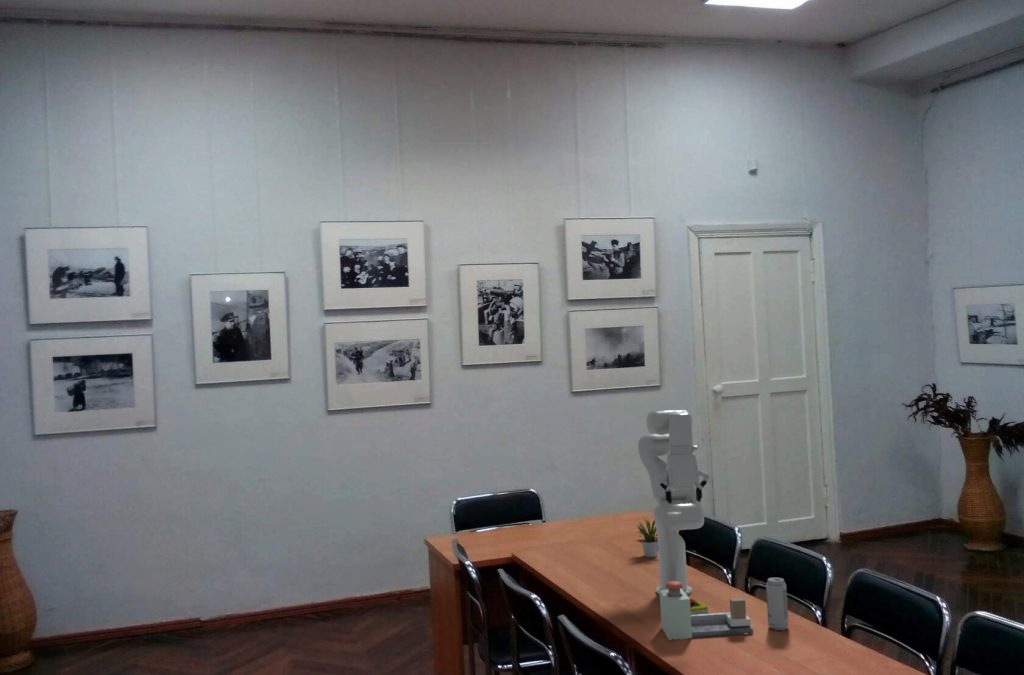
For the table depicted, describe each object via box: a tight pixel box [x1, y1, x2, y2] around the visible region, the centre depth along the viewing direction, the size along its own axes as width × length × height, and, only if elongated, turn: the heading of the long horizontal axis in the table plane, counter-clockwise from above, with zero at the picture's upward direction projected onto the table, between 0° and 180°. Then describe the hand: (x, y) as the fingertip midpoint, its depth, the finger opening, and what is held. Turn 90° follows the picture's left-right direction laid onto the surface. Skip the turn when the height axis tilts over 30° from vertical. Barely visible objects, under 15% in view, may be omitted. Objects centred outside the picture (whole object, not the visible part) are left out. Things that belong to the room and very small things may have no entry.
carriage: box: [727, 597, 752, 627], centre depth 269 cm, size 5×6×8 cm
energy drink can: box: [765, 576, 789, 631], centre depth 268 cm, size 6×6×15 cm
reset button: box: [665, 581, 683, 597], centre depth 268 cm, size 5×5×6 cm
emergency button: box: [689, 597, 709, 615], centre depth 289 cm, size 9×4×15 cm
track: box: [691, 612, 754, 638], centre depth 269 cm, size 9×19×4 cm, turn 92°
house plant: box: [636, 517, 659, 558], centre depth 363 cm, size 14×14×16 cm
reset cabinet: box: [659, 589, 692, 641], centre depth 268 cm, size 11×7×12 cm, turn 2°
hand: (684, 501), depth 287 cm, fingers open, 9 cm apart
